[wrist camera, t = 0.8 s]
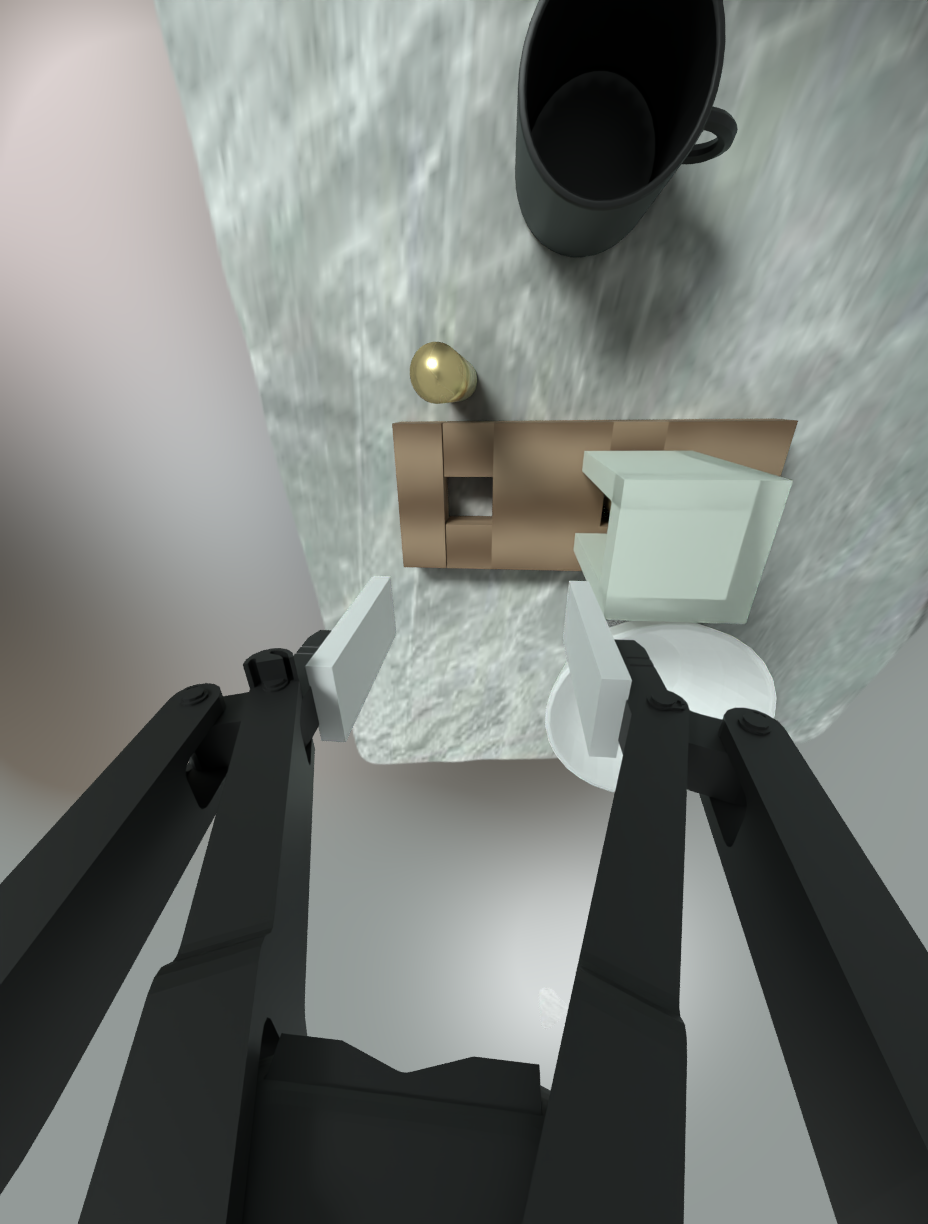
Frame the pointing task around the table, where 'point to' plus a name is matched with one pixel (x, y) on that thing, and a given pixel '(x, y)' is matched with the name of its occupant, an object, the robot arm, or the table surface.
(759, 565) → the housing
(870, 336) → the table surface
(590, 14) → the mug
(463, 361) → the pin
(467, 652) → the table surface
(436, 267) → the table surface
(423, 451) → the wooden slotted block
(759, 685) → the bowl
